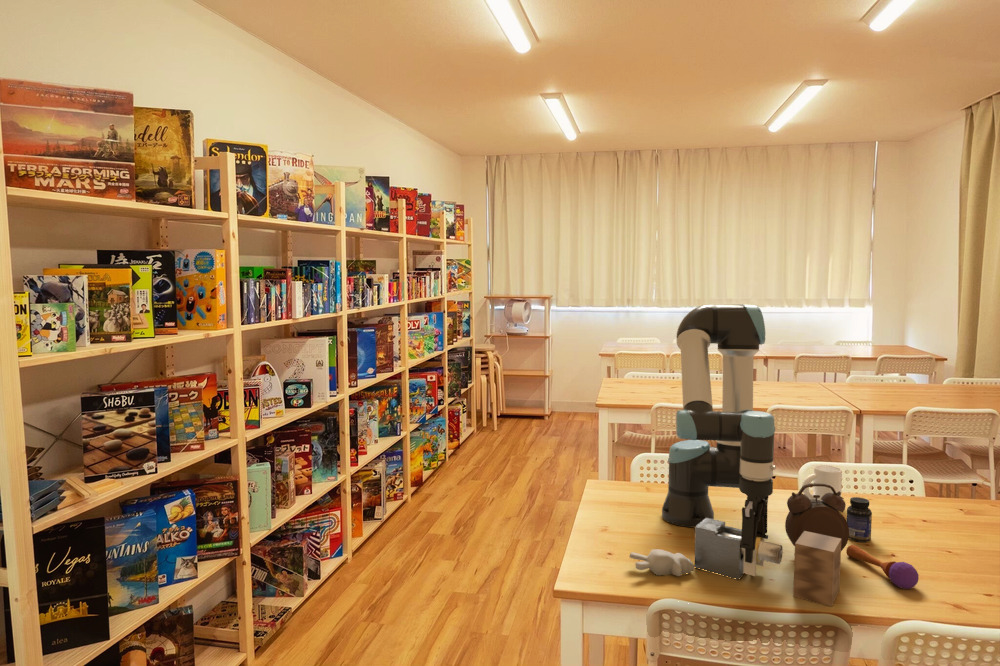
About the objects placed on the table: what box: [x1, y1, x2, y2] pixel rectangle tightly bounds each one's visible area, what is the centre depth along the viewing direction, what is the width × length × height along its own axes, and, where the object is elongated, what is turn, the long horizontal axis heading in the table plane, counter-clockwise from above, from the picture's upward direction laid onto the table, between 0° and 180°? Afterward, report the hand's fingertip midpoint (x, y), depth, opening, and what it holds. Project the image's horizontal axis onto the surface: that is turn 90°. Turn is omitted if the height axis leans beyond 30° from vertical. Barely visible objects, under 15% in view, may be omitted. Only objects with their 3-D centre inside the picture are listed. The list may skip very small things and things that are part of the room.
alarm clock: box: [784, 483, 850, 556], centre depth 170 cm, size 14×7×20 cm, turn 86°
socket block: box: [792, 531, 842, 608], centre depth 152 cm, size 8×9×13 cm
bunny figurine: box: [628, 548, 695, 577], centre depth 164 cm, size 10×5×15 cm
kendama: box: [845, 544, 920, 590], centre depth 162 cm, size 6×6×20 cm
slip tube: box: [717, 531, 784, 565], centre depth 162 cm, size 19×6×6 cm, turn 53°
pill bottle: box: [846, 496, 873, 543], centre depth 183 cm, size 6×6×11 cm
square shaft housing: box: [694, 518, 745, 580], centre depth 165 cm, size 11×8×11 cm
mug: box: [801, 464, 843, 501], centre depth 209 cm, size 8×12×12 cm
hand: (753, 568), depth 161 cm, fingers closed on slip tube, 6 cm apart
